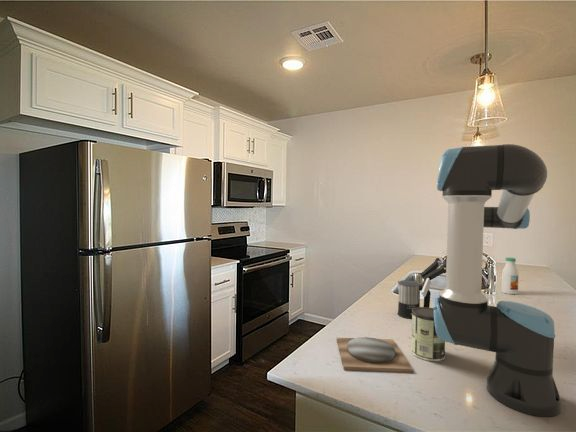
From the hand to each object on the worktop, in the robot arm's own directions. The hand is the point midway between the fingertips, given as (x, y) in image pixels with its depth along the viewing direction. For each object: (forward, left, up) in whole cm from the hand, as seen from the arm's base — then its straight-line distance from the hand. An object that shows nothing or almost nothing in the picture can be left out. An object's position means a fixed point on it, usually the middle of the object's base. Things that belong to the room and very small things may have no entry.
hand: (442, 298), depth 109 cm
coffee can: (-8, +8, -16) cm, 20 cm away
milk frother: (+32, +1, -16) cm, 36 cm away
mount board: (-10, +27, -16) cm, 33 cm away
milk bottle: (+70, -68, -16) cm, 99 cm away
